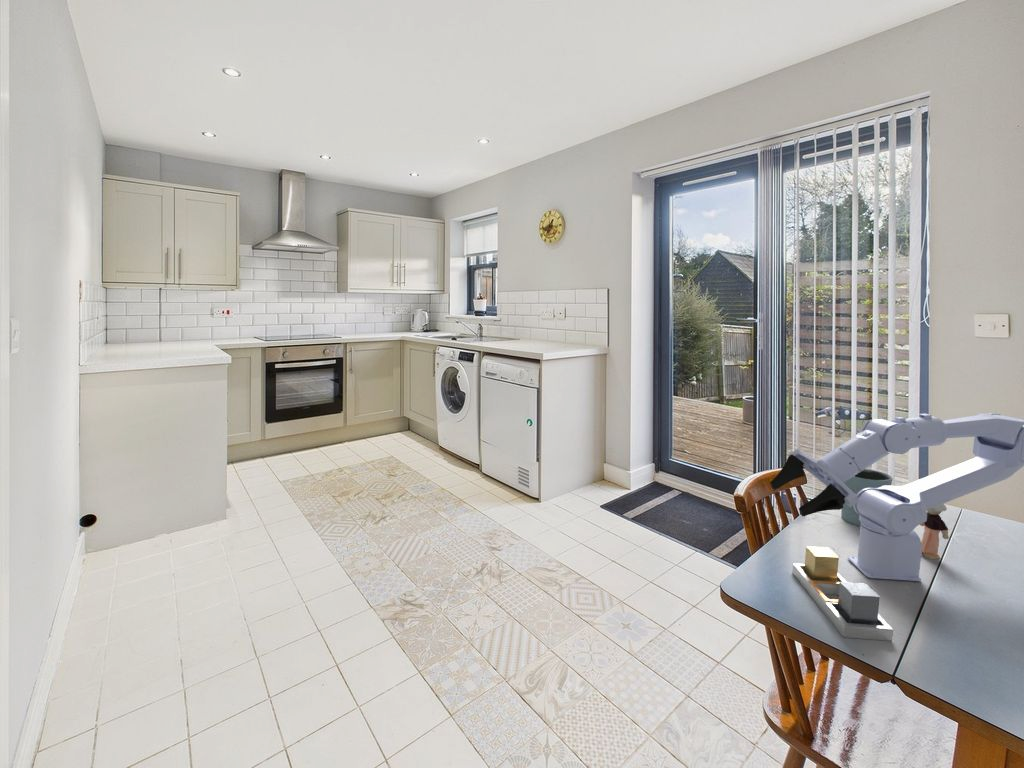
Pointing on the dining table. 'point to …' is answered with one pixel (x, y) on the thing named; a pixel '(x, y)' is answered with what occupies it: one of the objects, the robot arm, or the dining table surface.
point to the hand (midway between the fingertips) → (785, 499)
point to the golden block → (821, 564)
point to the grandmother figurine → (933, 532)
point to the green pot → (861, 482)
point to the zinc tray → (830, 607)
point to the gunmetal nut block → (858, 603)
